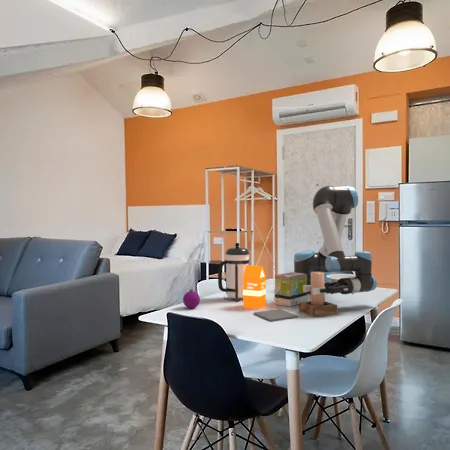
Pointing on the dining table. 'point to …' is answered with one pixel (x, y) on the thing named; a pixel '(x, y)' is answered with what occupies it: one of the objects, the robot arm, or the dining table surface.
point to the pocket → (318, 309)
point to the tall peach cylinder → (317, 282)
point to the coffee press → (234, 271)
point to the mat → (275, 315)
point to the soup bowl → (338, 277)
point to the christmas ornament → (191, 299)
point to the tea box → (290, 288)
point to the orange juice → (254, 287)
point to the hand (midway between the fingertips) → (308, 290)
